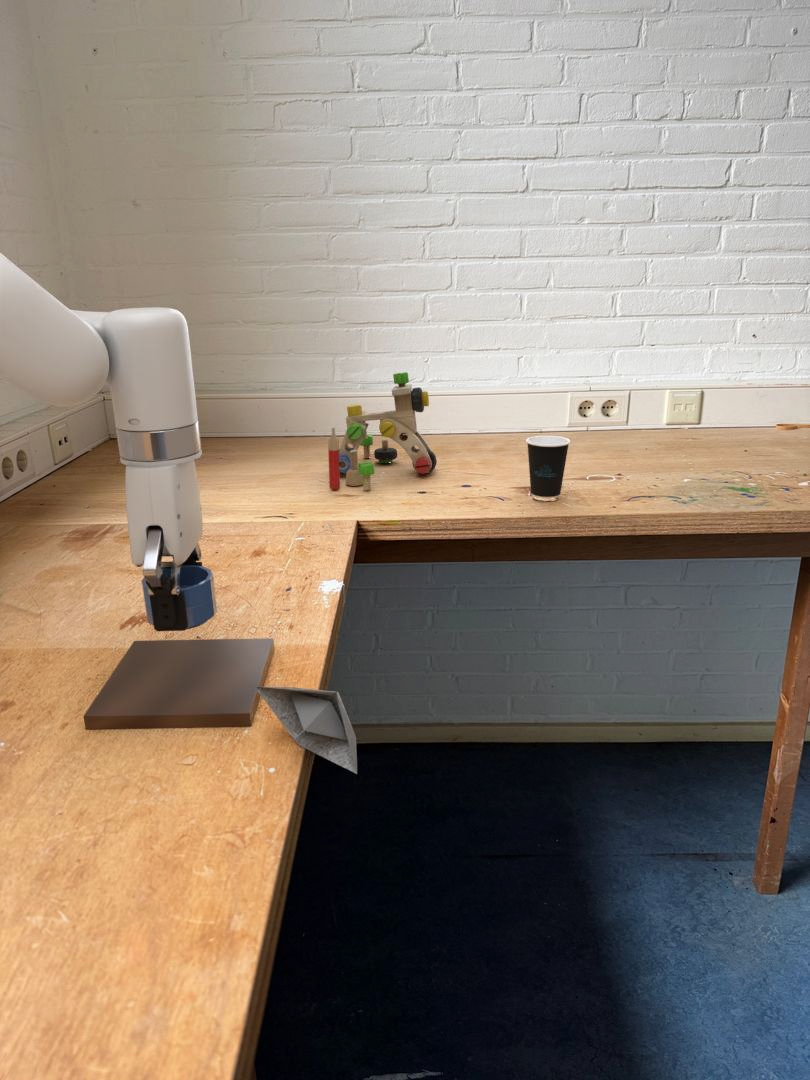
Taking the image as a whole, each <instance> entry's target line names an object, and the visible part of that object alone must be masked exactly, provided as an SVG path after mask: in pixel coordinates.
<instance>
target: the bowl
mask: <svg viewBox="0 0 810 1080" xmlns="http://www.w3.org/2000/svg"><path fill="white" fill-rule="evenodd" d="M162 571H163V572H162V574H167V576H168V577H169V578H170V580H171V569H162ZM141 589H142V596H143V603H144V610H145V617H146V620H147V623H148V624H149V625H151V626H152V627H154V624H153V617H152V610H151V603H150V596H149V594H148V585H147V584H146V579H145V577H144V576H143V578H142V579H141ZM180 591H184V596H185V604H186V612H187V621H188V627H187V629H186V630H190V629H191V630H192V629H194V628H198V627H201V626H202V625H204V624H205V623H207V622H208V621H209V620H210V619H212V618H213V617H215V615H216V613H217V611H218V606H217V598H216V589H215V580H214V573H213V571H212V570H211V569H210V568H208V567H205V566H203V565H202V566H197V565H180ZM186 630H185V631H186Z"/></svg>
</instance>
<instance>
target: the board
mask: <svg viewBox="0 0 810 1080" xmlns="http://www.w3.org/2000/svg"><path fill="white" fill-rule="evenodd" d="M274 641H275V639H274V638H272V637H270V638H269V637H268V638H267V637H266V638H223V639H222V638H215V639H213V638H212V639H210V638H209V639H208V638H207V639H158V640H157V639H155V640H154V639H153V640H134V641H133V642H132V643H131V645H130V646H129V648H128V649H127V651H126V652H125V654H124V656H122V658H121V660H120V661H119V662H118V664H117V666H116V667H115V669H114V670H113V671H112V672H111V675H110V676H109V677H108V679H107V680H106V681H105V684H104V685H103V687H102V688H101V689H100V691H99V692H98V693H97V695H96V696H95V698H94V700H93V701H92V703H91V704H90V706H89V707H88V709H87V710H86V712H85V713H84V715H83V723H84V728H85V730H121V729H122V730H124V729H125V730H126V729H130V730H131V729H175V728H176V729H178V728H180V729H181V728H229V727H230V728H231V727H234V728H235V727H236V728H237V727H252V724H253V721H254V718H255V714H256V712H257V707H258V705H259V701H260V698H261V695H260V693H259V692H258V691H257V689H256V688H255V687H254V686H262V687H264V685H265V681H266V678H267V675H268V672H269V669H270V665H271V662H272V658H273V655H274V652H275V642H274Z"/></svg>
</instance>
